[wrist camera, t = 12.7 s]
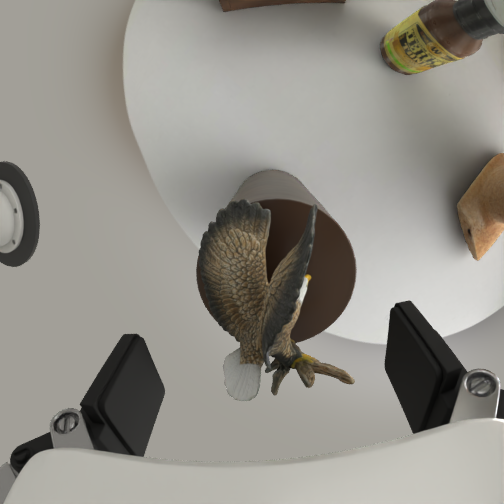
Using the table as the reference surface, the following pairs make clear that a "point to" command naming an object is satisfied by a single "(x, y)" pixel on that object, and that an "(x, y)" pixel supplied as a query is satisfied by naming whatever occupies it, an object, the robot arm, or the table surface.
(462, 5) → the sauce bottle
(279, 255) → the stand
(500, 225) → the tan boot-shaped piece
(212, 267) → the eagle figurine
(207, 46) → the table surface
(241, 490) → the robot arm
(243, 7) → the crate
